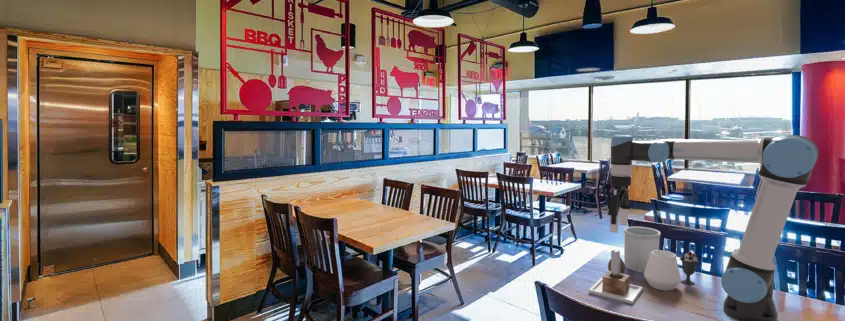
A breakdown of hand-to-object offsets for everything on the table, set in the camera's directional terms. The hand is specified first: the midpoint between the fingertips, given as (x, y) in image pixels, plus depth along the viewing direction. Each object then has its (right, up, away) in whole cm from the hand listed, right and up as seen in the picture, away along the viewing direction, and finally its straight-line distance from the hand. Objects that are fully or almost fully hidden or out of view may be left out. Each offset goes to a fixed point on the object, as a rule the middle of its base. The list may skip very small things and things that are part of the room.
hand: (618, 228), depth 165 cm
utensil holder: (+24, -23, +29) cm, 44 cm away
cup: (+22, -25, +8) cm, 34 cm away
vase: (+9, -24, +21) cm, 33 cm away
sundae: (+34, -25, +11) cm, 44 cm away
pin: (0, -25, +3) cm, 25 cm away
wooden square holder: (0, -25, +3) cm, 26 cm away
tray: (0, -26, +3) cm, 26 cm away
